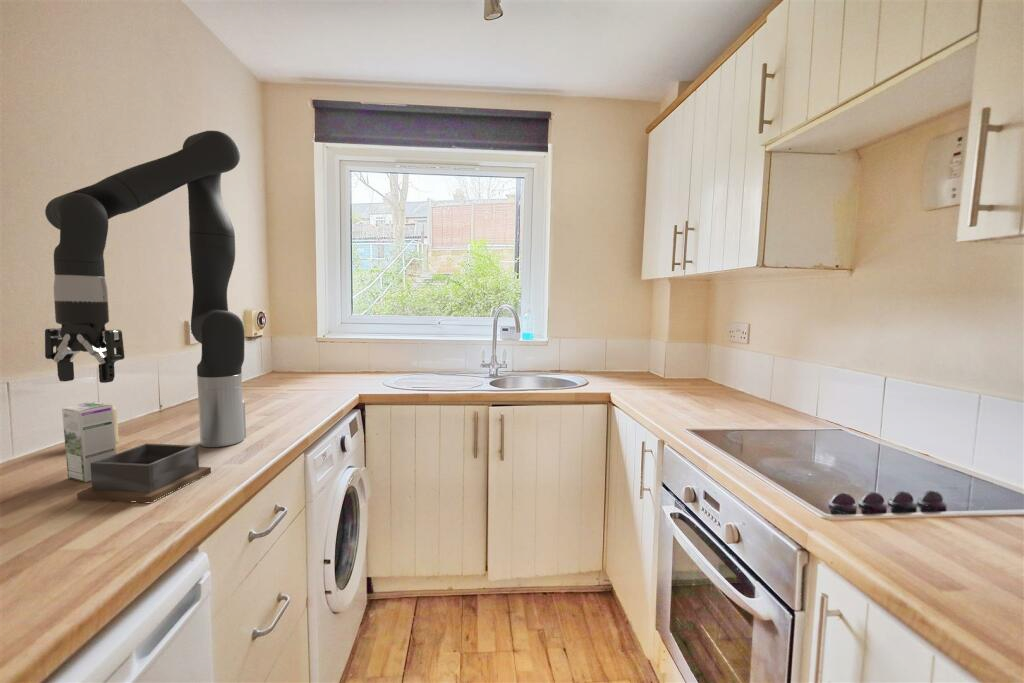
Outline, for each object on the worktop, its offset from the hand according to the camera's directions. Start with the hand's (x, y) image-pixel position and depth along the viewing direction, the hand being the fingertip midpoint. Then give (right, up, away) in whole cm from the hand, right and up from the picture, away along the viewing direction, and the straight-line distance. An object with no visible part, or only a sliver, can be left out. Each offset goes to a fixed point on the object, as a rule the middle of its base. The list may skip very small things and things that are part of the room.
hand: (86, 381), depth 87 cm
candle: (-16, -17, +21) cm, 31 cm away
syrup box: (0, -19, +2) cm, 20 cm away
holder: (+14, -20, -2) cm, 25 cm away
